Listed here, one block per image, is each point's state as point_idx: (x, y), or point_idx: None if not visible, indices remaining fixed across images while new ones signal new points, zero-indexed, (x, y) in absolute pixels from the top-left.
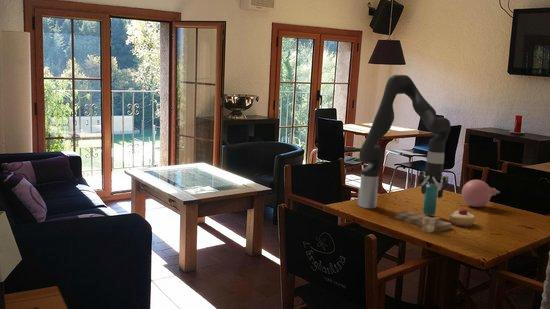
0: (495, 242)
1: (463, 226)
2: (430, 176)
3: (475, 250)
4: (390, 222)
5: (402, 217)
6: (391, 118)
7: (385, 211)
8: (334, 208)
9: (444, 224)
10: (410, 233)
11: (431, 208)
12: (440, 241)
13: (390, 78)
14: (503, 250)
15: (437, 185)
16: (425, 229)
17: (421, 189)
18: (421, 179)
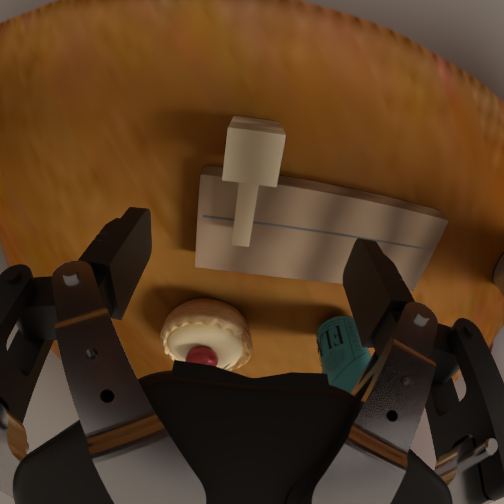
0: (33, 224)
1: (184, 302)
2: None
3: (13, 87)
4: (434, 134)
5: (412, 207)
6: None
7: (470, 260)
8: None
9: (205, 227)
10: (292, 27)
11: (330, 340)
12: (127, 42)
13: None
14: None
15: (85, 314)
16: (256, 119)
17: (398, 275)
18: (451, 396)
